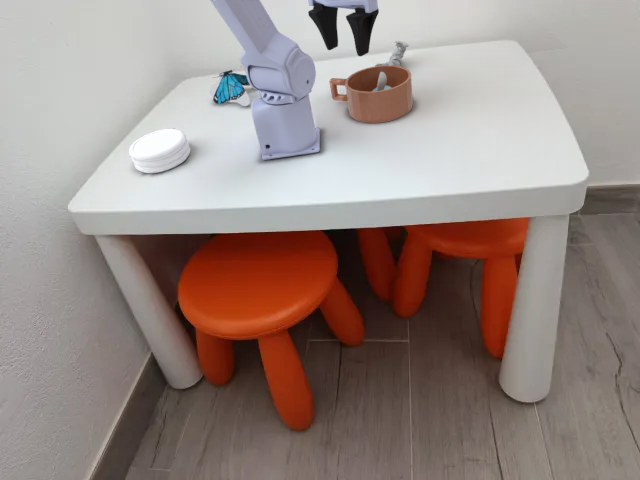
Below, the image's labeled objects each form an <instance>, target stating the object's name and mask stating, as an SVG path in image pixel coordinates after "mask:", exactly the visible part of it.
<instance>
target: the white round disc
mask: <svg viewBox="0 0 640 480" xmlns="http://www.w3.org/2000/svg"><path fill="white" fill-rule="evenodd" d="M128 154H129V157H130V158H131V161H132V163H133V165H134V168H135V169H136V170H137V171H138V172H141V173H145V174H156V173H162V172H166V171H168V170H171V169H174V168H177V167H178V166H180V165H181V164H182V163H184V162H185V161H187V158H188V157H189V156H190V154H191V146H190V145H189V140H188V139H187V136H186V134H185V132H184V131H182V130H179V129H176V128H163V129H158V130H155V131H152V132H149V133H147V134H143V136H141V137H139V138H137V139H136V140H135V141H134V142H133V143H132V144H131V145H130V146H129V148H128Z"/></svg>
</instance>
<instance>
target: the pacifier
mask: <svg viewBox="0 0 640 480" xmlns="http://www.w3.org/2000/svg"><path fill="white" fill-rule="evenodd" d="M386 83H387V77H386V74H385V73H384V72H380V75H379V79H378V84H377V88H375V89H374V90H373V91H381V90H386V89H390V88H391V87H390V86H387V85H386ZM373 91H371V92H373Z"/></svg>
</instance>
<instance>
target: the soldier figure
mask: <svg viewBox="0 0 640 480" xmlns="http://www.w3.org/2000/svg"><path fill="white" fill-rule="evenodd" d="M394 44H395V46H396V48H395V49H394V50H393V51H392V53H391V56H390V57H389V60H388V61H386V62H382V63H377V64H375V65H374V66H383V65H393V66H400V67H402V59H403V58H404V55H405V53H406V51H407V48H408V47H409V46H410V44H408V43H407V42H404V41H400V40H396V41H394Z"/></svg>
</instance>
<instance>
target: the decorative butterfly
mask: <svg viewBox="0 0 640 480" xmlns="http://www.w3.org/2000/svg"><path fill="white" fill-rule="evenodd" d="M234 71H235V68H234V69H230V70H226V71H223V72H221V73H219V74H217V75H214V76H213V77H212V79H217V78H218V79H217V81H216V82H215V83H214V84H213V85H212V86H210V88H209V96H210V99H211V100H212V101H213V102H214V103H215V104H219V105H221V104H225V103H227V102H228V103H235V104H239V105H240V106H243V107H247V106H248V107H249V105H250V97H249V95H248V93H247V90H246V89H245V87H249V86H250V87H251V85H250V84H249V82H248V80H247V76H246V74H241V73H236V72H234Z"/></svg>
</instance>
